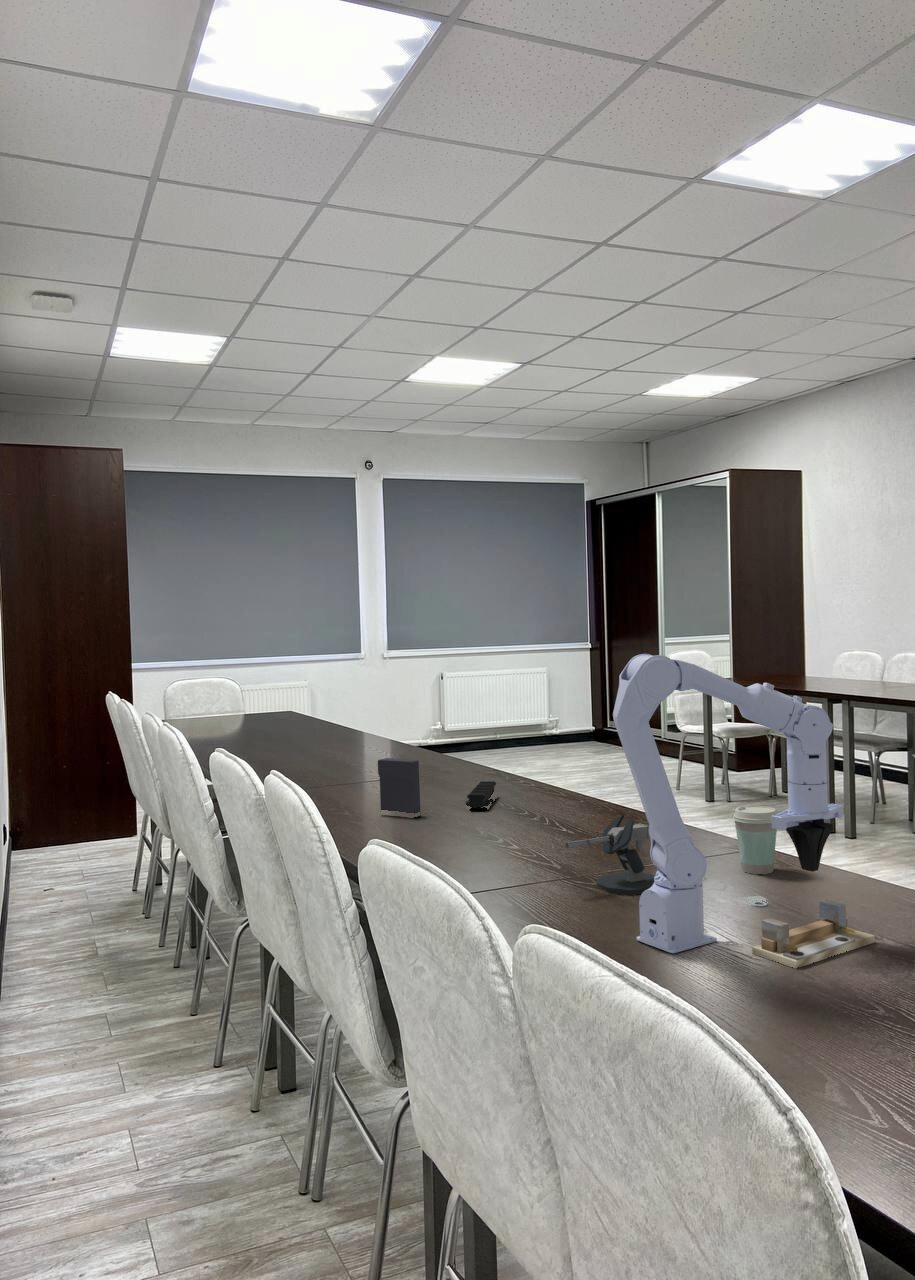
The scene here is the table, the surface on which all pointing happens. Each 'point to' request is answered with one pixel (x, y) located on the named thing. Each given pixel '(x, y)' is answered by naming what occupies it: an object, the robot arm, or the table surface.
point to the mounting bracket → (750, 899)
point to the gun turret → (622, 857)
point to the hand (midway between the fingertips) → (809, 869)
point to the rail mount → (481, 794)
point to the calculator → (399, 785)
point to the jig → (806, 942)
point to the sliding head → (835, 914)
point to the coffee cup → (755, 838)
